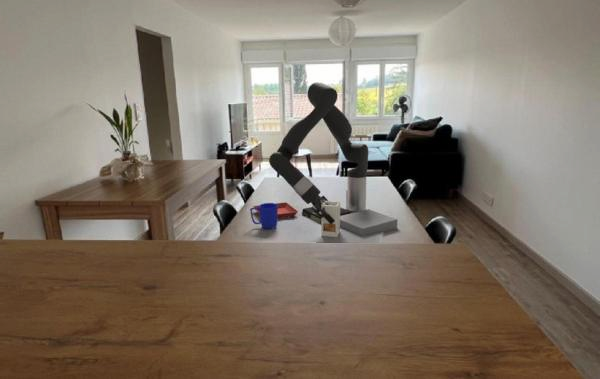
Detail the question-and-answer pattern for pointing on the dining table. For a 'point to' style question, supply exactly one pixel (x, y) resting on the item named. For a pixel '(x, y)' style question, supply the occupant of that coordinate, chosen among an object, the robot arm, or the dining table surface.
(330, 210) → the white hollow square box
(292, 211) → the plant saucer
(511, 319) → the dining table surface
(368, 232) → the dock
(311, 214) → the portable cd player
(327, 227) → the block
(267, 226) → the mug
